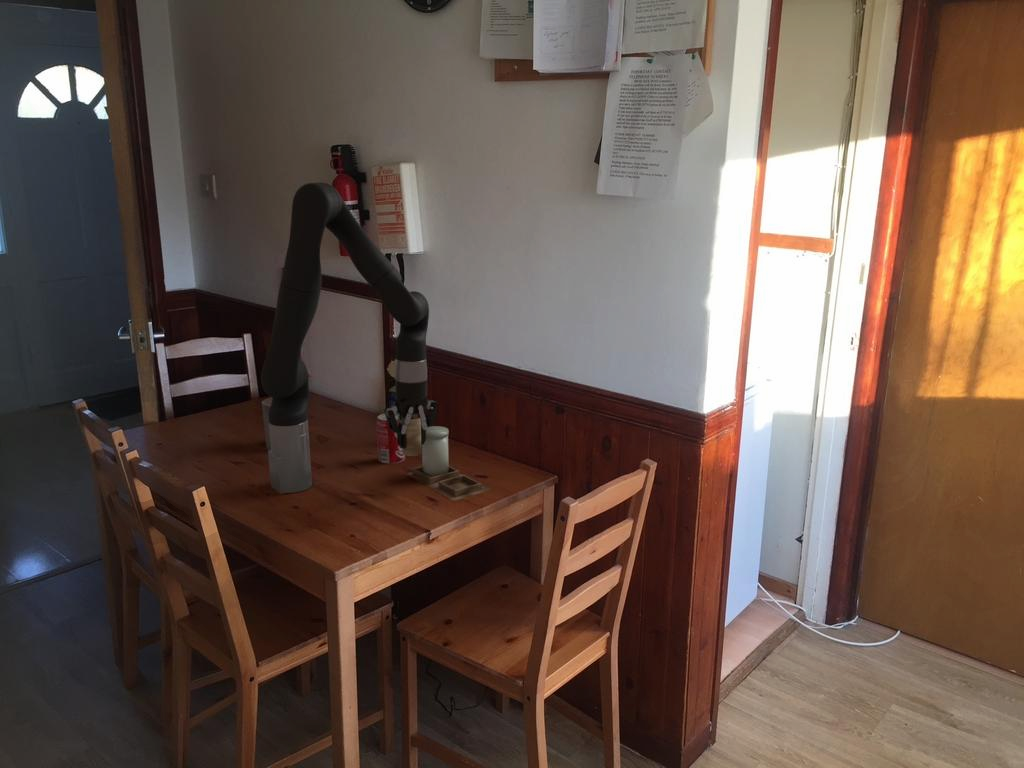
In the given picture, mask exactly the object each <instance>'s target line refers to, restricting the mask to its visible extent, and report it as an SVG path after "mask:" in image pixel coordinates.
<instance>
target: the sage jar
mask: <svg viewBox="0 0 1024 768" xmlns="http://www.w3.org/2000/svg"><path fill="white" fill-rule="evenodd" d="M449 432H450V431H449V428H447V427H445V426H438V425H437V426H436V425H433V426H429V427H427V429H426V441H425V442H424V444H423V445H422V446H421V457H422V458H421V459H422V464H421V465H422V466H423V473H424V474H426V475H427V476H429V477H435V476H439V475H442V474H446V473H449V466H450V465H449Z"/></svg>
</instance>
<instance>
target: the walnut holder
mask: <svg viewBox="0 0 1024 768" xmlns="http://www.w3.org/2000/svg"><path fill="white" fill-rule="evenodd" d="M460 472H461V471H460V470H459V469H458V468H455V467H453V466H451V465H449V473H446V474H442V475H439V476H435V477H429V476H427V475H426V474H424V473H423V465H420V466H417V467H413V468H411V472H408V473H406V475H407V476H409V477H410V478H412V479H414V480H416V481H417V482H419V483H422V485H425V486H427V487H428V488H430V489H432V490H434V491H436V493H439V494H441V495H442V496H444V497H446V498H448V499H449V500H451V501H453V502H455V501H460V500H461V499H465V498H466V499H467V498H469V497H472V496H475V495H480V494H483V493H486V492H489V491H490V492H491V491H492V489H490V488H488V487H487V486H485V485H483V484H482V482H479V481H477V480H475V479H474V478H472V477H470V476H467V475H466V474H461V473H460Z"/></svg>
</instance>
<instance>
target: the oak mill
mask: <svg viewBox="0 0 1024 768" xmlns="http://www.w3.org/2000/svg"><path fill="white" fill-rule="evenodd" d="M402 420H404V418H402ZM405 434H406V448H404V449H403V448H402V453H403V454H404V455H405V456H406V457H407V456H409V457H415V456H419V455H422V446H421V418H420V417H418V413H415V414H411V418H410V422H409V425H407V429H406V432H405Z"/></svg>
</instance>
